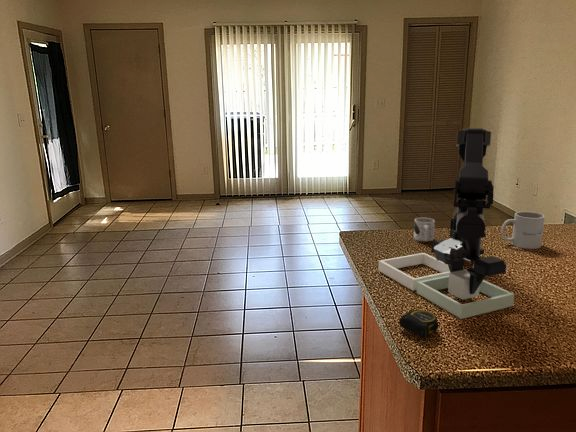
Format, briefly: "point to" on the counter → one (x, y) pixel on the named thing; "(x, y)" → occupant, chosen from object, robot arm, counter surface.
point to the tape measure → (419, 322)
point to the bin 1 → (392, 264)
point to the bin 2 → (497, 302)
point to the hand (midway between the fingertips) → (463, 289)
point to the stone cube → (461, 284)
